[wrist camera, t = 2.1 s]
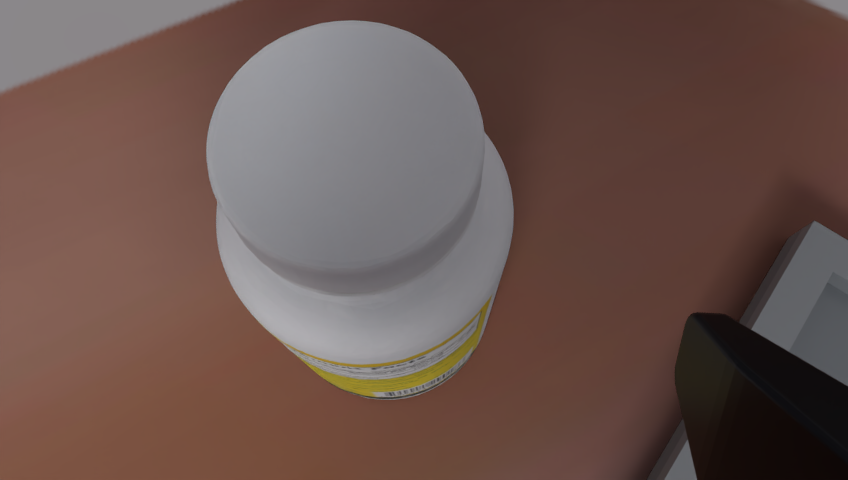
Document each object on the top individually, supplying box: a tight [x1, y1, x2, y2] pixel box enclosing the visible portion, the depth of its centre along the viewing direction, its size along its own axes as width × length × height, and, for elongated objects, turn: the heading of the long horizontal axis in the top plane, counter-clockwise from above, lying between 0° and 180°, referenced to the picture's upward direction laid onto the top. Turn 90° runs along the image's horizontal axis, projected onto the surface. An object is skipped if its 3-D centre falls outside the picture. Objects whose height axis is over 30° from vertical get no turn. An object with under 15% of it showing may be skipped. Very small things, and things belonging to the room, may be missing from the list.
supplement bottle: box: [206, 20, 514, 400], centre depth 15 cm, size 5×5×10 cm
